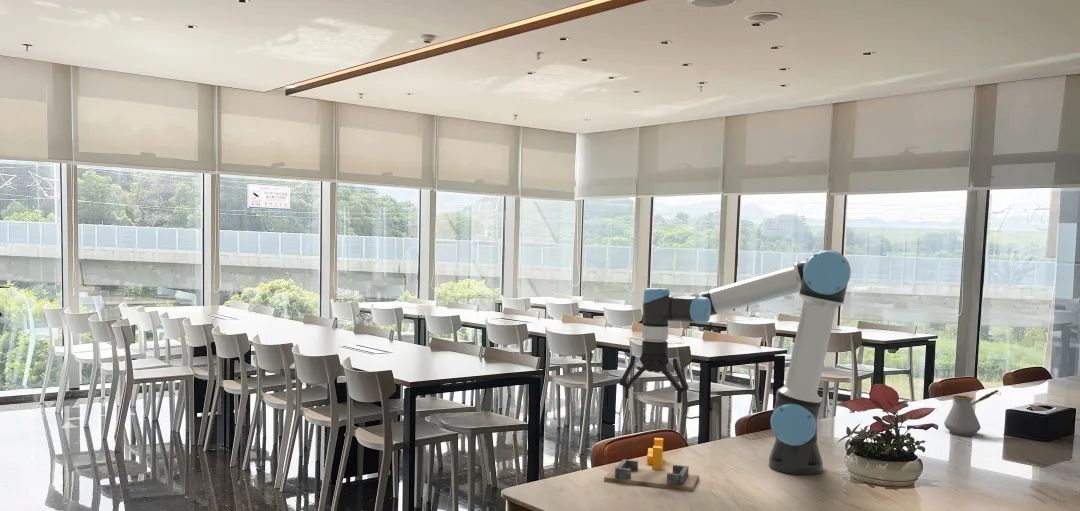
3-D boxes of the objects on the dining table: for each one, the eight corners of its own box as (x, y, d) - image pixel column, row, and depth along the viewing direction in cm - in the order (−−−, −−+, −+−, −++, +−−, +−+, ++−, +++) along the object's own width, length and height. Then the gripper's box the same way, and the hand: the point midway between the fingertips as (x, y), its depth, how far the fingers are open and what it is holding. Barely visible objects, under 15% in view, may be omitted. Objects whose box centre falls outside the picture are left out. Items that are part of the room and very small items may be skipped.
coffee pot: (960, 437, 275) (961, 394, 275) (936, 430, 286) (937, 388, 286) (1011, 435, 280) (1012, 392, 280) (985, 427, 292) (986, 387, 291)
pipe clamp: (648, 458, 241) (648, 437, 241) (662, 459, 240) (663, 438, 240) (646, 469, 229) (646, 447, 229) (661, 470, 228) (661, 448, 228)
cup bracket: (698, 478, 220) (699, 466, 220) (692, 491, 208) (692, 478, 208) (614, 469, 228) (614, 457, 228) (604, 480, 216) (604, 468, 216)
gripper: (699, 341, 234) (697, 413, 234) (616, 336, 242) (614, 405, 242) (695, 344, 227) (693, 418, 227) (610, 338, 235) (608, 410, 235)
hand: (653, 411), depth 234 cm, fingers open, 13 cm apart
